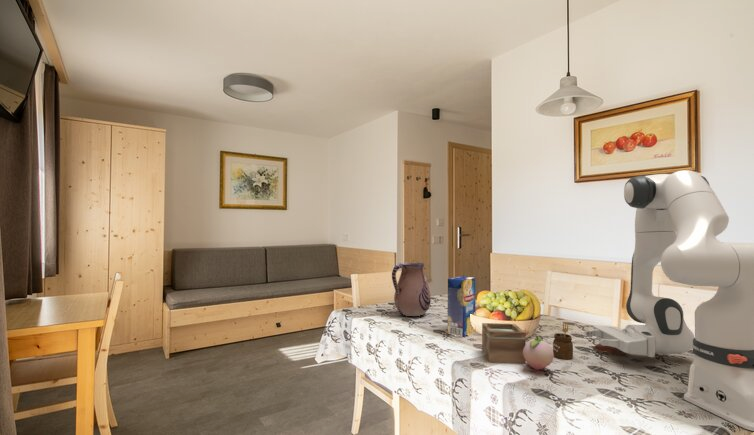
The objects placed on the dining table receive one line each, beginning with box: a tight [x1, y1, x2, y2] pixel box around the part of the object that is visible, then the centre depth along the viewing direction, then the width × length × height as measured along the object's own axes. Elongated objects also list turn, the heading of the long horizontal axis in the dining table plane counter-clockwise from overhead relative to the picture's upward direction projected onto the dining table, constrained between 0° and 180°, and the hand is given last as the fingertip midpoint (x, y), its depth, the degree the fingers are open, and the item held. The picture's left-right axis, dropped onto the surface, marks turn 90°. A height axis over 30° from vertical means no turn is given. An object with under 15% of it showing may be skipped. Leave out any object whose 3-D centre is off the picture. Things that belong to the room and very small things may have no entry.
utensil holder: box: [552, 321, 574, 360], centre depth 123 cm, size 6×6×12 cm
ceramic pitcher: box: [391, 261, 432, 317], centre depth 179 cm, size 18×21×25 cm
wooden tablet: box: [592, 342, 629, 357], centre depth 136 cm, size 27×10×2 cm, turn 131°
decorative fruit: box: [523, 335, 555, 371], centre depth 111 cm, size 9×8×10 cm
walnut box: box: [481, 322, 527, 364], centre depth 122 cm, size 11×11×10 cm
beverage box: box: [447, 275, 476, 338], centre depth 150 cm, size 7×11×22 cm, turn 141°
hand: (592, 337), depth 123 cm, fingers open, 8 cm apart
